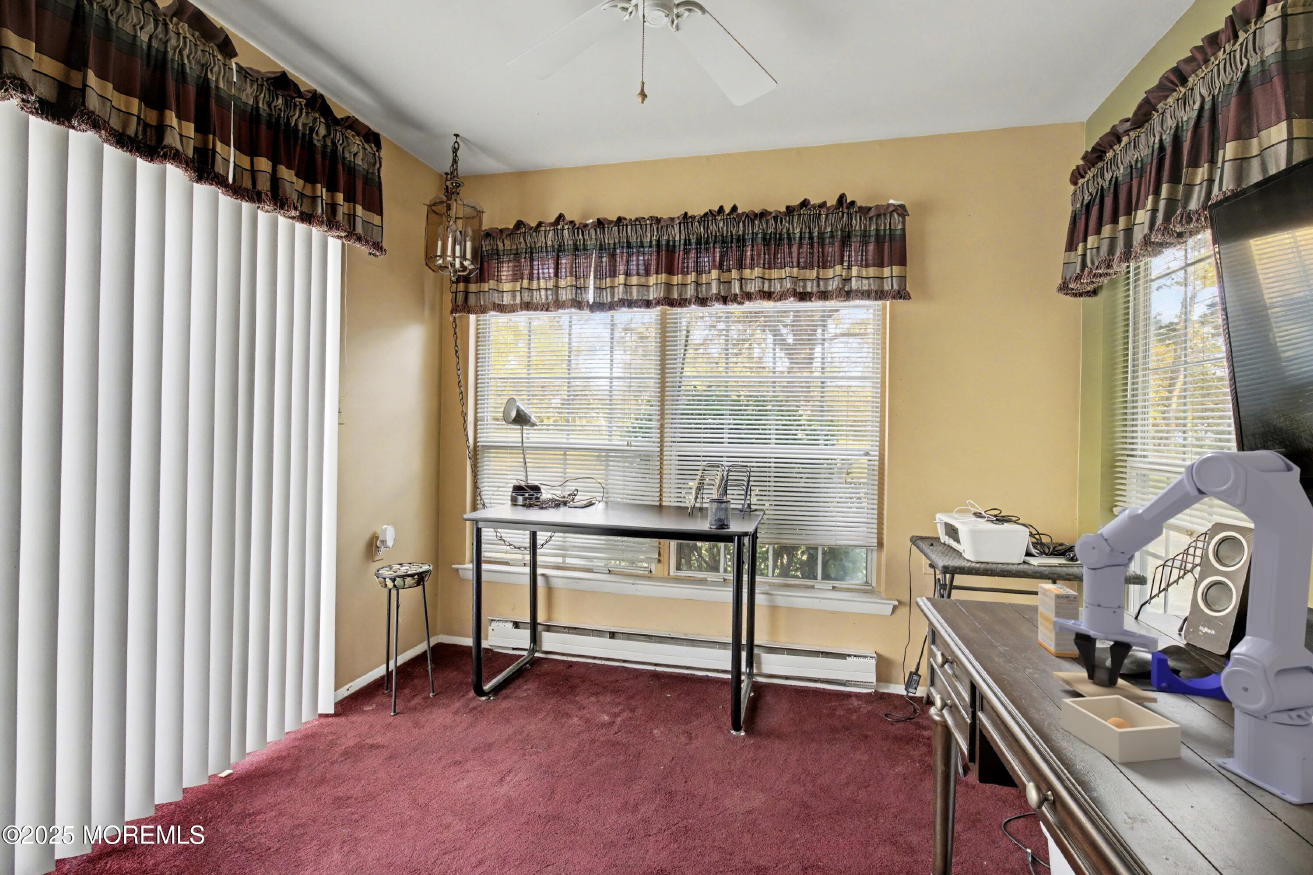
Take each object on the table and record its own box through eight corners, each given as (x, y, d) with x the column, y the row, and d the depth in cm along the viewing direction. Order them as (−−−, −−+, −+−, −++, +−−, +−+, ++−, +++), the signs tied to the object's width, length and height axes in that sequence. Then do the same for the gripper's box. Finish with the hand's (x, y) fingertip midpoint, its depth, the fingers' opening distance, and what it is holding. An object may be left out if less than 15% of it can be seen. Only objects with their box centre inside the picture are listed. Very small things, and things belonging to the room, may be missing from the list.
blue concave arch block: (1233, 692, 107) (1233, 659, 106) (1245, 703, 102) (1245, 668, 102) (1148, 680, 112) (1148, 648, 111) (1156, 690, 107) (1157, 657, 107)
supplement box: (1080, 658, 122) (1080, 594, 122) (1054, 656, 123) (1054, 593, 123) (1061, 643, 130) (1062, 583, 130) (1037, 642, 131) (1037, 582, 131)
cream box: (1180, 757, 86) (1181, 726, 86) (1118, 763, 84) (1118, 731, 84) (1117, 722, 96) (1118, 694, 96) (1061, 727, 94) (1061, 699, 94)
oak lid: (1157, 706, 99) (1157, 679, 99) (1092, 704, 99) (1092, 677, 99) (1111, 681, 109) (1111, 657, 109) (1052, 679, 109) (1053, 655, 109)
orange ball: (1136, 742, 89) (1136, 722, 89) (1118, 744, 88) (1118, 724, 88) (1118, 732, 92) (1118, 713, 92) (1100, 734, 91) (1100, 714, 91)
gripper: (1048, 599, 107) (1047, 674, 107) (1153, 618, 96) (1152, 702, 96) (1059, 591, 111) (1058, 664, 112) (1160, 608, 101) (1159, 689, 101)
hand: (1102, 681), depth 104 cm, fingers closed on oak lid, 2 cm apart
